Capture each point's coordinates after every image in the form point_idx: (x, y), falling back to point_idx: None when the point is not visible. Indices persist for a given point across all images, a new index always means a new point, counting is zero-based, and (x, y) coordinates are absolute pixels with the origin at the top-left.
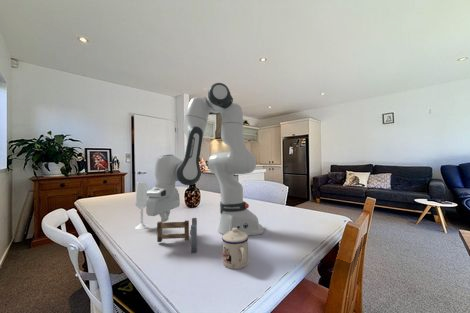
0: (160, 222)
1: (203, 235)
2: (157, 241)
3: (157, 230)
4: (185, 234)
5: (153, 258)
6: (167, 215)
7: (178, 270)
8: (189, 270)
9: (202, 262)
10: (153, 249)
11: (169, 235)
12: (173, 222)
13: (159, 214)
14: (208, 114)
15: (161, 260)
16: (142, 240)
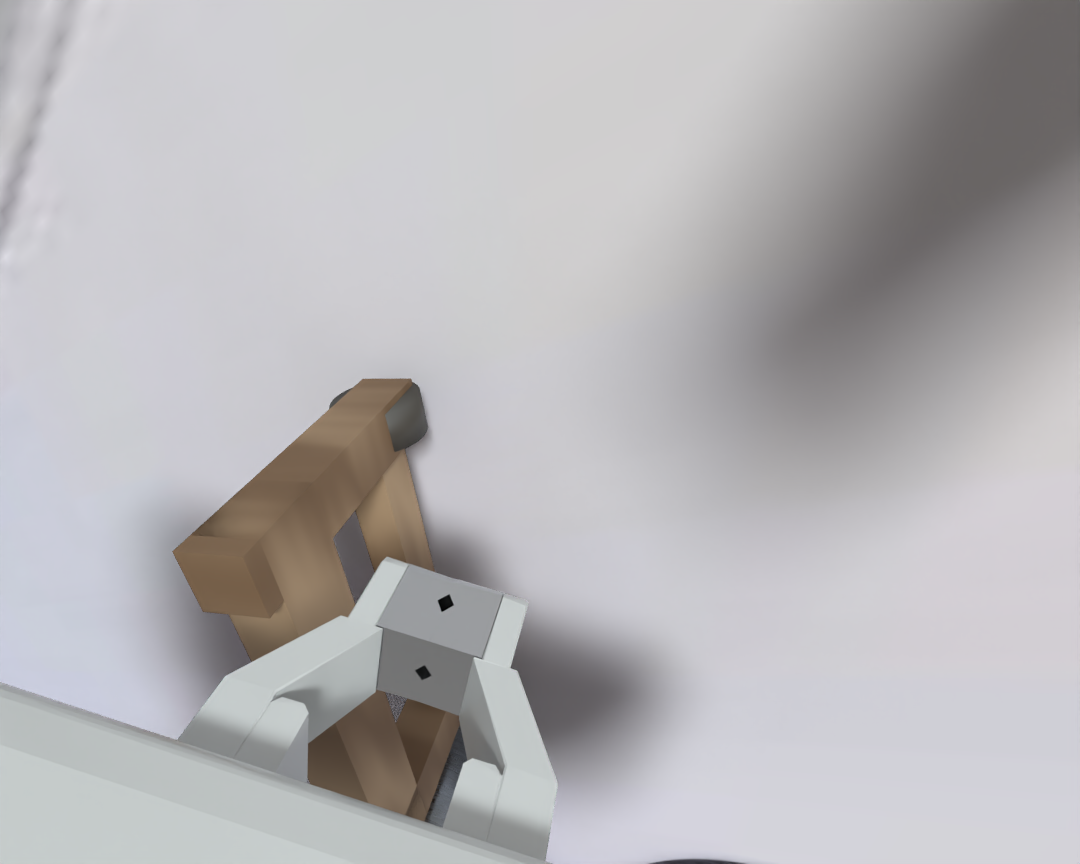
0: (204, 603)
1: (635, 757)
2: (360, 382)
3: (272, 465)
4: (408, 705)
5: (107, 430)
6: (468, 739)
7: (65, 613)
8: (92, 661)
9: (189, 716)
10: (247, 368)
11: (373, 557)
12: (328, 745)
13: (224, 682)
14: None
15: (110, 499)
16: (477, 53)
